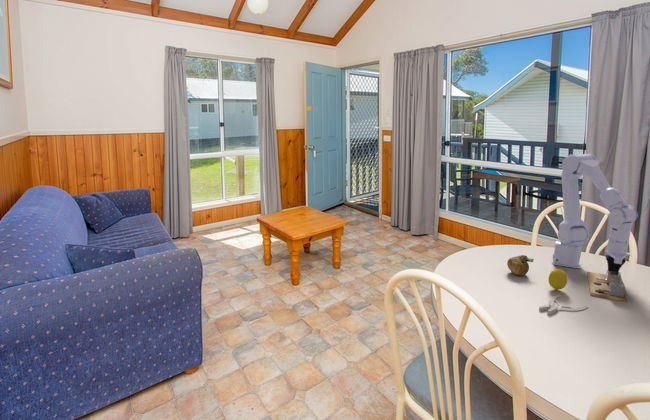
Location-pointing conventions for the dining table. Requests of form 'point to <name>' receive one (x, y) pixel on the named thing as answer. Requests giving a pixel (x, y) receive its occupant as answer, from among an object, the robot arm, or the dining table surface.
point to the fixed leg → (615, 289)
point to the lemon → (557, 279)
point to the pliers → (553, 307)
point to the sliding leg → (611, 276)
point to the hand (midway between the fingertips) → (612, 275)
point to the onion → (519, 264)
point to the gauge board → (602, 287)
